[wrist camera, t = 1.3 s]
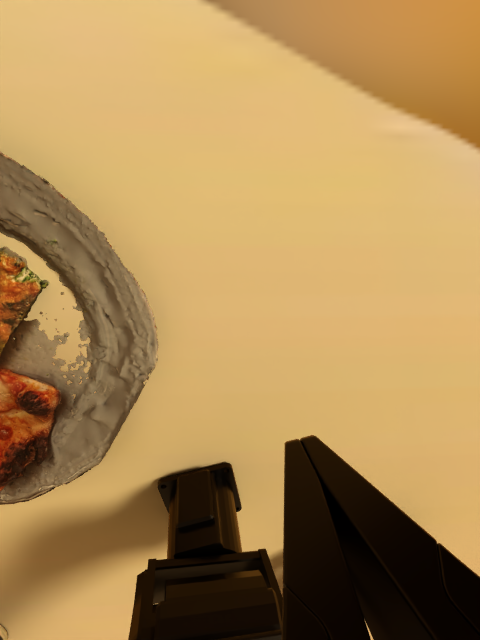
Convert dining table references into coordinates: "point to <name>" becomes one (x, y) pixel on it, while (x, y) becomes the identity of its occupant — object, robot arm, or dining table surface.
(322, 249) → the dining table surface
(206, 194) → the dining table surface
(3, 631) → the coffee can
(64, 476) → the food plate
